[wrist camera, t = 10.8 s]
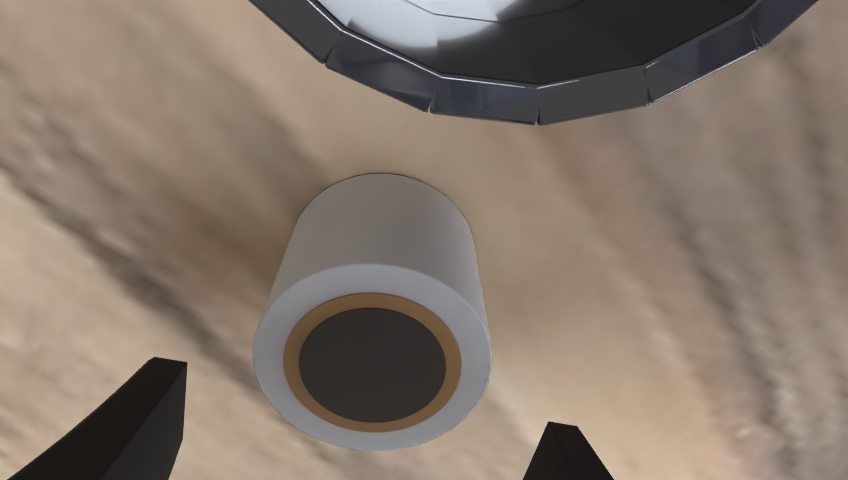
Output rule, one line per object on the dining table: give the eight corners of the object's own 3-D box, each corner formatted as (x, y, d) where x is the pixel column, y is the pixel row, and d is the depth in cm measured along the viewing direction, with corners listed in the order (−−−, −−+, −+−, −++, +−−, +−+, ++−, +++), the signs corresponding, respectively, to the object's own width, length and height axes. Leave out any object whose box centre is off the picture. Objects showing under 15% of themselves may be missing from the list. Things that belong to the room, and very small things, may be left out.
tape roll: (487, 317, 19) (507, 436, 15) (319, 344, 20) (292, 468, 16) (458, 156, 17) (472, 245, 12) (265, 192, 17) (216, 290, 13)
